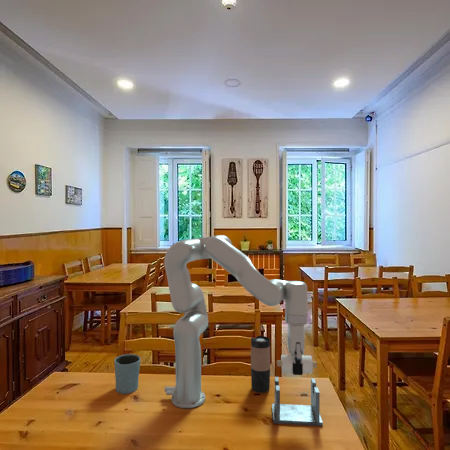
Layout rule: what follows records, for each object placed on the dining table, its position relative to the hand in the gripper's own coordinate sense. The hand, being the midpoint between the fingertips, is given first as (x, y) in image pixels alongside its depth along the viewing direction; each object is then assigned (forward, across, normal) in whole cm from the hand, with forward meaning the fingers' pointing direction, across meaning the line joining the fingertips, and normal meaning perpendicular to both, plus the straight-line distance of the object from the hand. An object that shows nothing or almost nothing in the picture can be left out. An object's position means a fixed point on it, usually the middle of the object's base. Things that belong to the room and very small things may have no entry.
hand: (296, 369), depth 116 cm
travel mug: (+16, -18, -12) cm, 27 cm away
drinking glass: (+16, -13, -65) cm, 68 cm away
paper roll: (+1, 0, 0) cm, 1 cm away
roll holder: (+16, 0, 0) cm, 16 cm away
